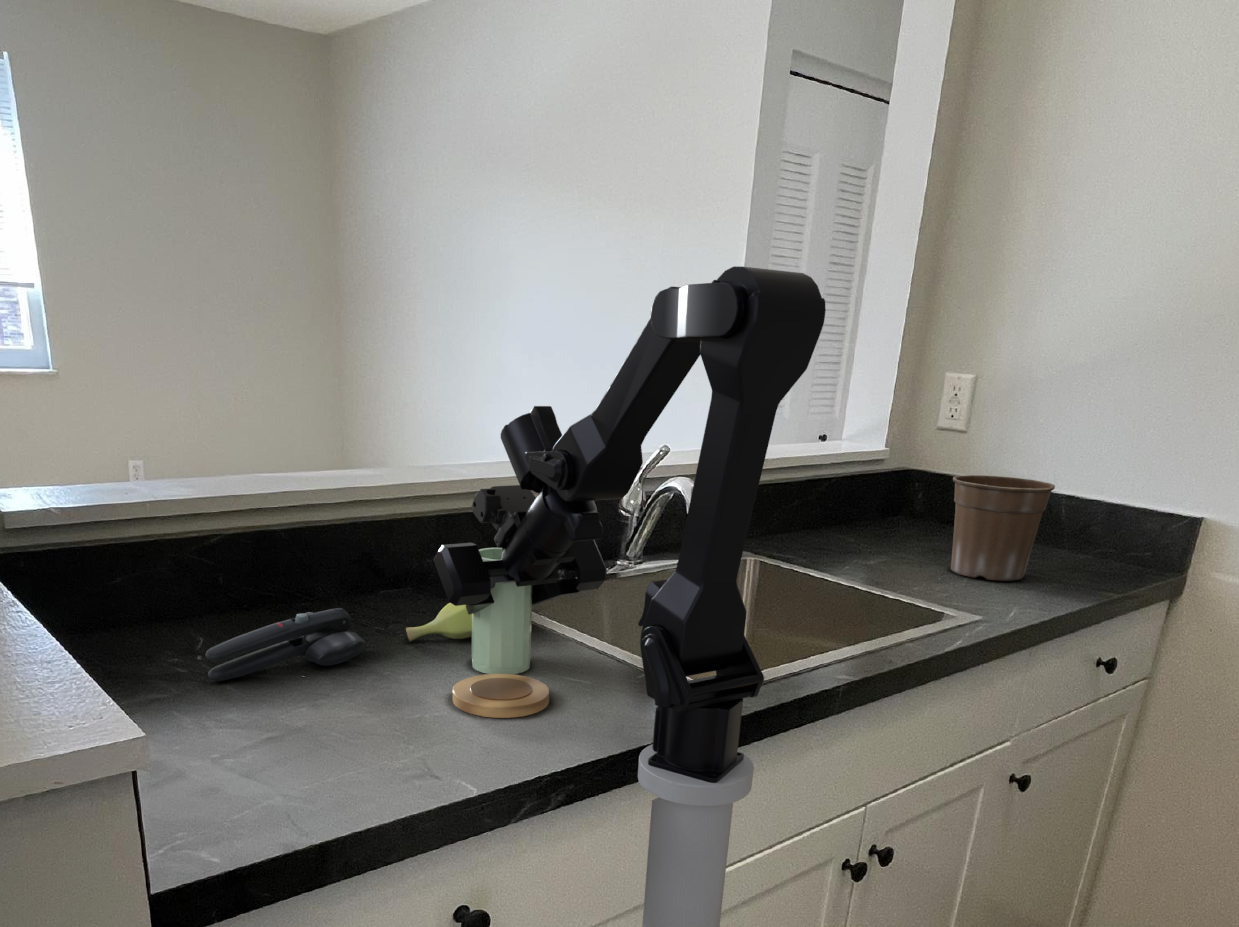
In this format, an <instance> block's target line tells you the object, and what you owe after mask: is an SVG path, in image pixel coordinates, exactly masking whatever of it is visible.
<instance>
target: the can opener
mask: <svg viewBox="0 0 1239 927" xmlns="http://www.w3.org/2000/svg"><path fill="white" fill-rule="evenodd" d="M351 620H352V619H351V616H350V614H349V613H348V611H347V610H346V609H344V608H341V607H336V608H330V609H327V610H322V611H321V610H320V611H317V612H314V611H312V612H310V611H308V612H305V613H297V614H296V615H295V617H293V618H289V619H286V620H283V621H278V622H275V623H272V624H269V625H265V626H263V627H260V628H257V629H254V630H251V631H249V632H246V633H243V634H239V635H238V636H235V637H233V638H231V639H228V640H226V641H223V642H221V643H219V644H217V645H214V646H212V647H210V648H208V649H207V651H206V652H205V658H206V659H207V660H208V661H210V662H211V661H212V662H220V661H224V660H227V659H230V658H233V657H236V656H239V657H237V658H234V659H231V660H229V661H226V662H223V663H222V664H218V665H216V666H214V667H213V668H211V669H210V670H209V671H208V673H207V676H208V678H209V679H210V680H213V681H215V682H223V681H229V680H233V679H236V678H241V677H244V676H247V675H251V674H252V673H253V674H254V673H256V672H258V671H261V670H264V669H265V668H268V667H271V666H273V665H275V664H277V663H280V662H282V661H285V660H287V659H290V658H293V657H297V656H305V659H306V660H308V661H309V662H312V663H315V664H317V665H320V666H333V665H338V664H341V663H344V662H346V661H347V662H348V661H350V660H351V659H353V658H355V657H357V656H358V655H359V654H361V653H362V652H363V651H364V650H365V648H366V646H367V643H366V642H365V640H364V639H363V638H362V637H361V636H360V635H359V634H358V633H357V632H354V631H350V628H351V623H352V621H351ZM242 654H245V655H242ZM240 655H242V656H240Z"/></svg>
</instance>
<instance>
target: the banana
mask: <svg viewBox="0 0 1239 927" xmlns="http://www.w3.org/2000/svg"><path fill="white" fill-rule="evenodd" d="M405 632H406V636H407V638H408V641H409V642H413V641H414V640H416V639H418V638H420V637H422V636H426V635H433V634H434V635H435V634H437V635H441V636H443V637H445V638H449V639H451V640H452V639H453V640H462V639H464V640H465V639H468V638H472V614H468V612H467V609H466V605H459V606H455V605H453V604H451V603H450V602H448V603H447V604H446V605H445V606H443V607H442V609H441V610H440V611H439V612H438V614H437V615H436V617H435V618H434V619H433V620H432V621H430V622H427V623H426V624H424V625H420V626H414V627H411V626H410V627H409V626H407V627H406V628H405Z"/></svg>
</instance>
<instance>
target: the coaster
mask: <svg viewBox="0 0 1239 927" xmlns="http://www.w3.org/2000/svg"><path fill="white" fill-rule="evenodd" d="M452 703H453V705H454V706H455V707H456V708H457V709H459V710H461V711H462V712H465V713H467V714H471V715H473V716H477V717H485V718H492V719H512V718H513V719H514V718H522V717H526V716H531V715H535V714H538V713H539V712H541V711H543V710H545V709H546V708H547V707H548V706H549V703H550V688H549V687H548V685H546V684H545V683H544V682H542V681H540V680H538V679H537V678H533V677H530V676H525V675H520V674H486V673H484V674H479V675H478V674H477V675H474V676H473V675H472V676H469V677H466V678H463V679H461V680H459V681H457V682H456V683H455V684H454V686H453V687H452Z"/></svg>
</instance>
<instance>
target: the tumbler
mask: <svg viewBox="0 0 1239 927" xmlns="http://www.w3.org/2000/svg"><path fill="white" fill-rule="evenodd" d="M479 552H480V554H481V557H482V560H483V562H485V561H495V560H502V559H501V555H502V552H503V550H502V548H497V547H485V548H480V549H479ZM532 586H533V585H529V586H520V587H517V585H516V583H515V582H513V583H504V584H495V587H494V589H493V590H491V594H492V597H493V599H494V603H493V604H491V605H489V606H487V607H485V608H483V609H482V610H480V611H478V612H476V613H473V614H472V636H471V666H472V668H473V669H474V670H475V671H476V672H480V673H483V674H513V675H519V674H522V673H524V672H526V671H528V670H530V667H531V660H532V659H531V656H532V655H531V654H532V622H533V618H532V617H533V616H532V614H533V605H532Z"/></svg>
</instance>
